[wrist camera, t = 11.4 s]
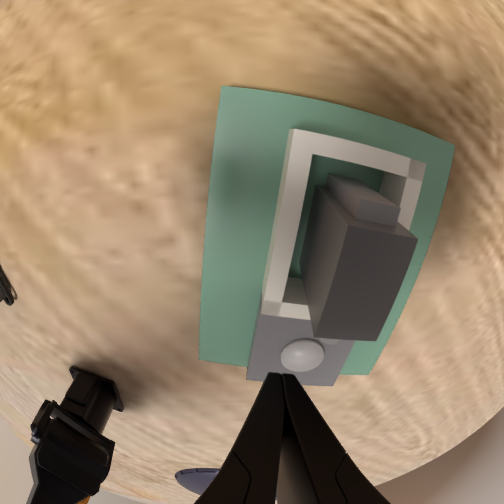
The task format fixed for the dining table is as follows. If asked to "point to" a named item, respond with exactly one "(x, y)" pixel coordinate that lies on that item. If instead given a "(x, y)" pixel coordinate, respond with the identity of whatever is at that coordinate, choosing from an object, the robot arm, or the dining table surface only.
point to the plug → (352, 260)
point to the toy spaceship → (197, 479)
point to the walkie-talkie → (5, 291)
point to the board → (299, 224)
